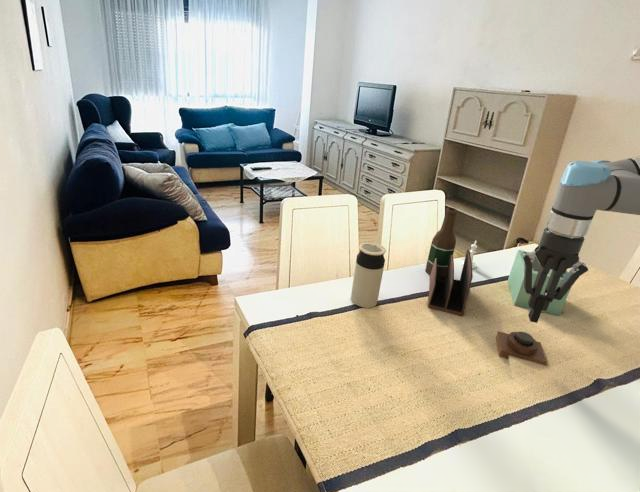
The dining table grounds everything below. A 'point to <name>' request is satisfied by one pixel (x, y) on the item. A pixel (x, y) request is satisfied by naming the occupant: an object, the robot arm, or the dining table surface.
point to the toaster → (518, 288)
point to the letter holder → (450, 287)
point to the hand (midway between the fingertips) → (532, 319)
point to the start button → (524, 338)
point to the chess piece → (472, 254)
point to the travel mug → (368, 274)
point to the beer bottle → (443, 244)
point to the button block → (519, 348)
